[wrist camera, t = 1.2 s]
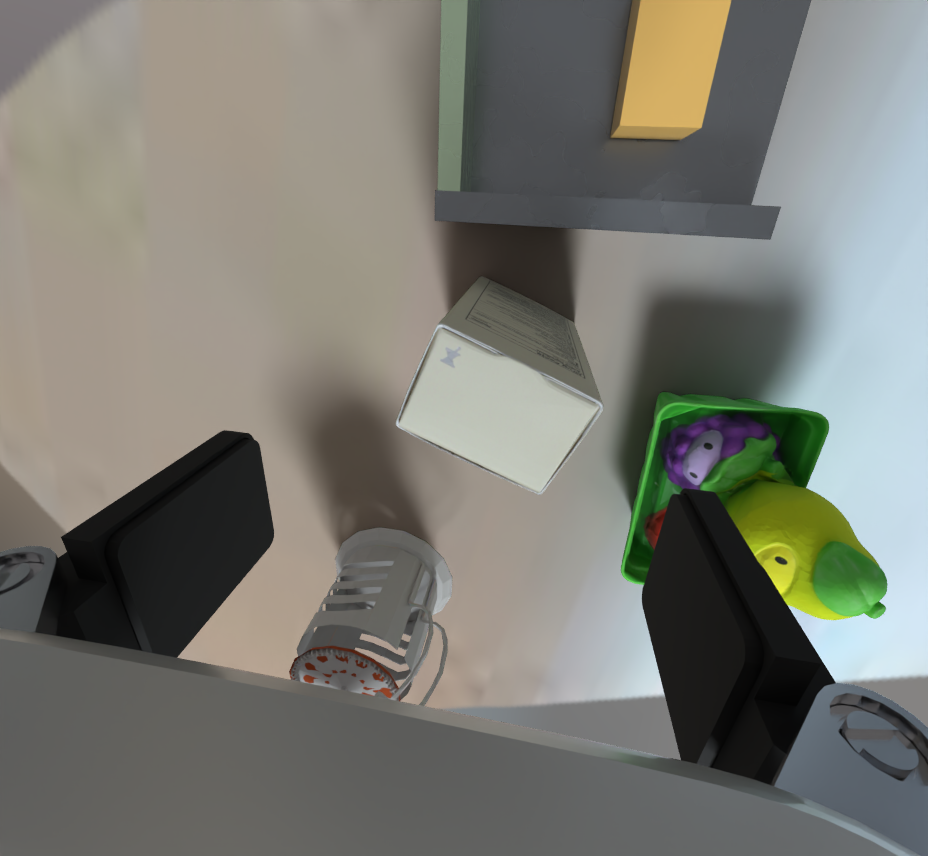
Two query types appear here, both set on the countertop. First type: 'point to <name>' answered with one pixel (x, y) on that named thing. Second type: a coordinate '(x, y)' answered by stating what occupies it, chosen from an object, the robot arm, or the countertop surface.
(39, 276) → the countertop surface
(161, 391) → the countertop surface
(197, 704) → the robot arm
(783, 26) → the box
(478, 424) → the skincare box
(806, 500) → the fruit basket
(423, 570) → the french press
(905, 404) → the countertop surface
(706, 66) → the slider
